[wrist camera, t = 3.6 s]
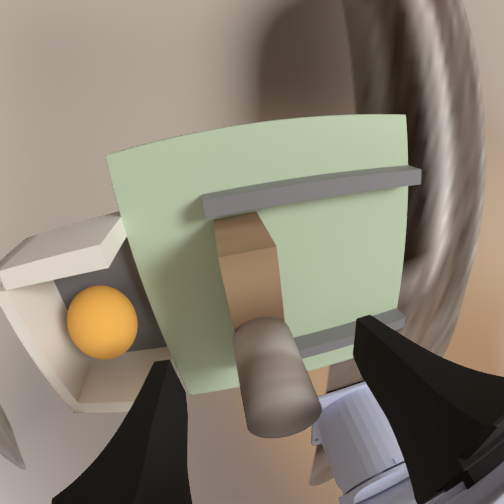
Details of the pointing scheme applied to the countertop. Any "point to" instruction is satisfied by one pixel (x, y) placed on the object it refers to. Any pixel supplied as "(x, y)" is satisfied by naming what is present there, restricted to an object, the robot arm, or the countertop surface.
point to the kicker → (263, 331)
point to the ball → (102, 322)
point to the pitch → (206, 258)
